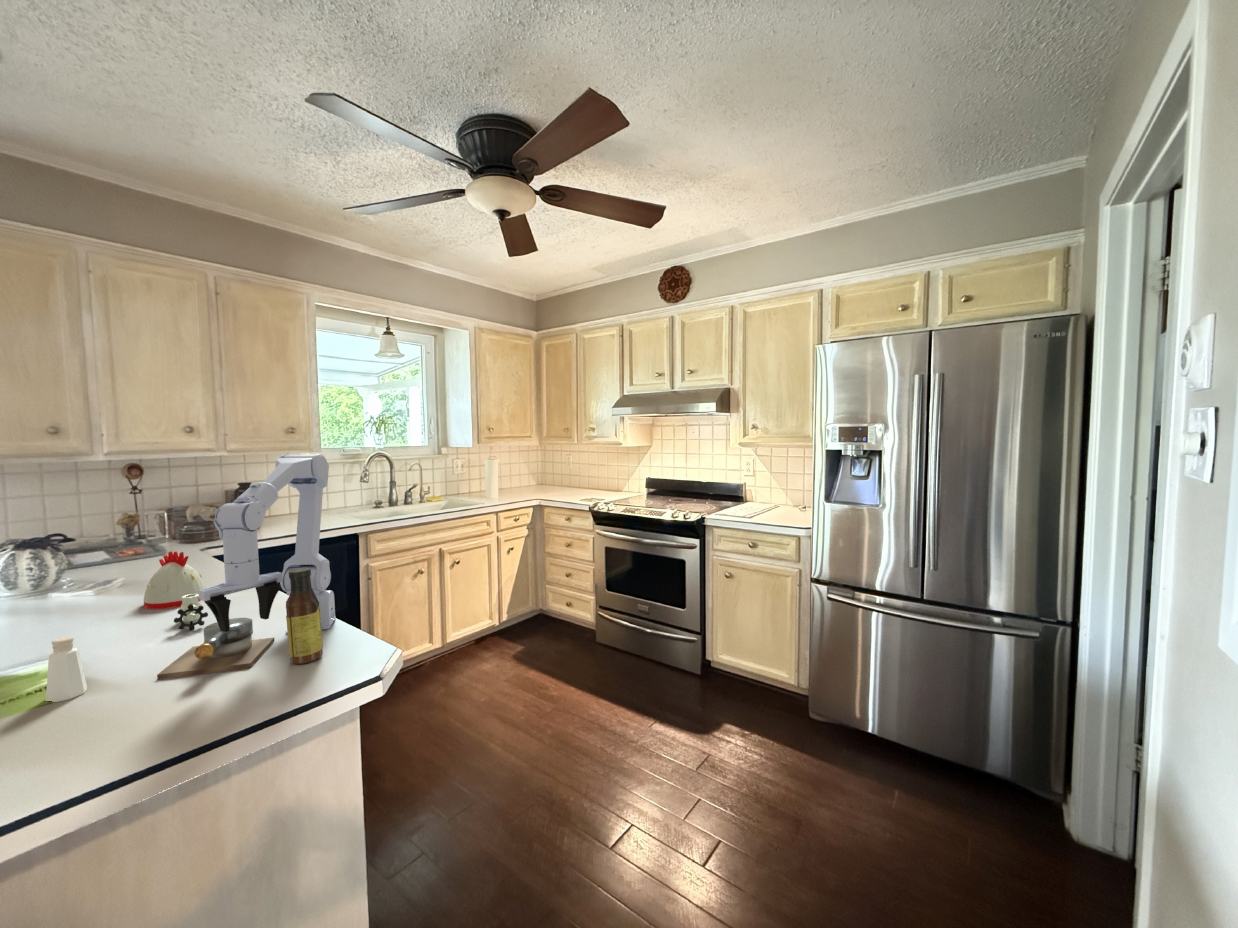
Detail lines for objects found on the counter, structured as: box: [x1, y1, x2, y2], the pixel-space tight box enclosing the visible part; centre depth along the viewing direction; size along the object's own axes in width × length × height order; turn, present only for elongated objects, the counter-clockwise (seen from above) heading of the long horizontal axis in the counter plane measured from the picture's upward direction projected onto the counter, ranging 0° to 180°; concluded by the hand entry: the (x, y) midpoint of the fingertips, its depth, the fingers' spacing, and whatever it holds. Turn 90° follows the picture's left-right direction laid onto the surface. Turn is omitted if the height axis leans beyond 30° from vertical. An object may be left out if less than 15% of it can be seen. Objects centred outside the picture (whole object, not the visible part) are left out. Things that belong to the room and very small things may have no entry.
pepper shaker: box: [45, 635, 88, 703], centre depth 94 cm, size 5×5×11 cm
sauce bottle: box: [285, 568, 324, 665], centre depth 109 cm, size 6×6×20 cm
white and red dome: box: [143, 551, 206, 610], centre depth 149 cm, size 14×14×15 cm
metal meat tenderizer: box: [194, 617, 254, 660], centre depth 108 cm, size 16×9×3 cm, turn 17°
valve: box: [173, 594, 209, 631], centre depth 130 cm, size 7×7×12 cm
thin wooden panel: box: [156, 634, 275, 680], centre depth 109 cm, size 16×14×4 cm
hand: (245, 624), depth 105 cm, fingers open, 7 cm apart
